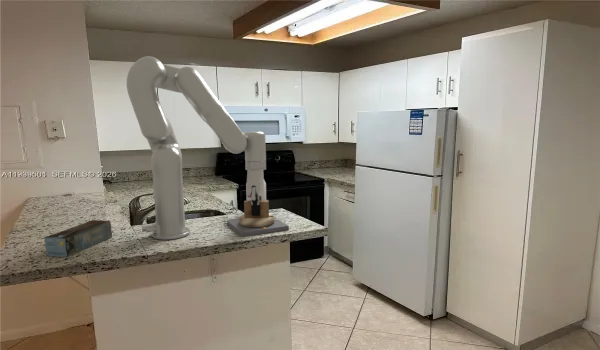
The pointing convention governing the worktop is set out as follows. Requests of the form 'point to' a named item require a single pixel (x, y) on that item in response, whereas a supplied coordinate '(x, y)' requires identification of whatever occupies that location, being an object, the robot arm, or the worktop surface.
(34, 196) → the worktop surface
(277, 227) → the dial base
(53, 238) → the beverage carton
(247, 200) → the supplement can
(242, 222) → the dial
